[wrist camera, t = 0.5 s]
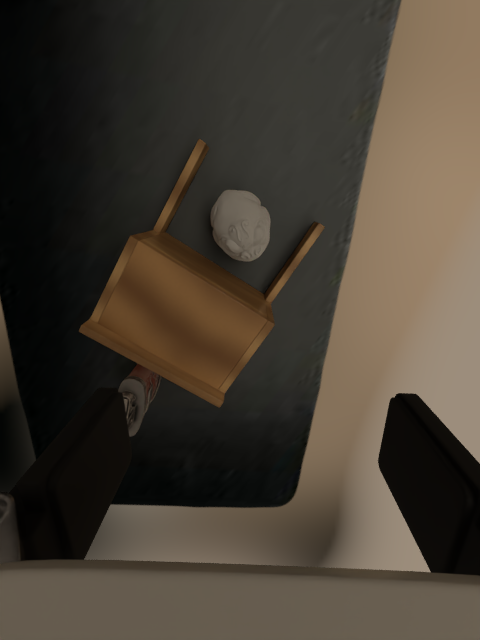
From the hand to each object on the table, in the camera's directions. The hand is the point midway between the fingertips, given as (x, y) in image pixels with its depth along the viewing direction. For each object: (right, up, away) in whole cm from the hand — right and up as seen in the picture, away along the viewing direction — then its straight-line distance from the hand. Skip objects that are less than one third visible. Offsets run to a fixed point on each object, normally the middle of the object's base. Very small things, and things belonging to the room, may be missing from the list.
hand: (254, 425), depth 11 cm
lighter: (-13, -4, +31) cm, 34 cm away
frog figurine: (0, +15, +24) cm, 28 cm away
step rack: (-3, +10, +25) cm, 27 cm away
